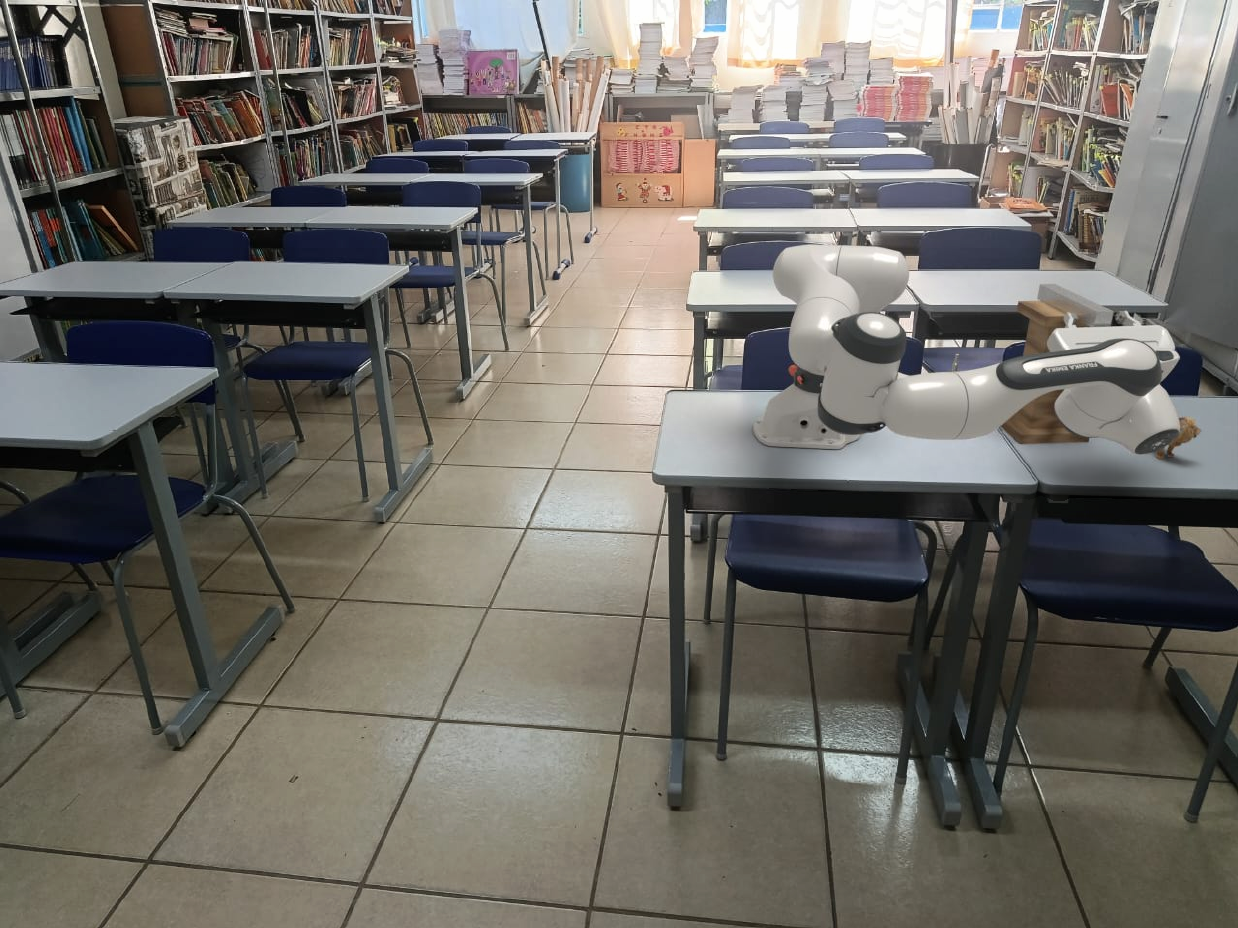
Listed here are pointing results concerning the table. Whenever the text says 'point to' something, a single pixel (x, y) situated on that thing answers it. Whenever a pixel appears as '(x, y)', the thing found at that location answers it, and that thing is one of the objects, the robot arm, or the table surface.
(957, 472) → the table surface
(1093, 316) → the metal block
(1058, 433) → the walnut stand
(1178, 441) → the lion figurine
